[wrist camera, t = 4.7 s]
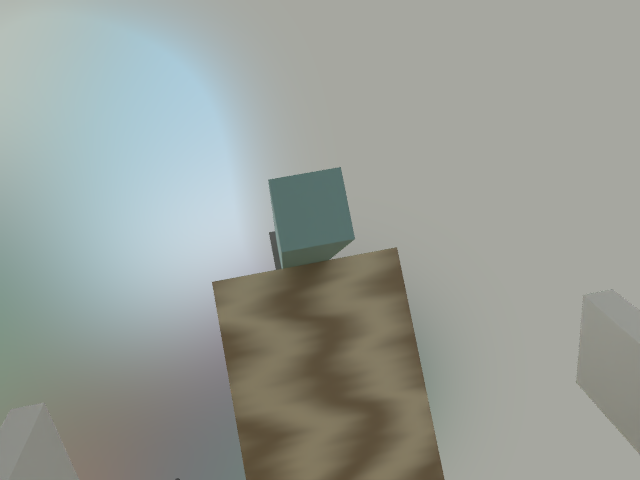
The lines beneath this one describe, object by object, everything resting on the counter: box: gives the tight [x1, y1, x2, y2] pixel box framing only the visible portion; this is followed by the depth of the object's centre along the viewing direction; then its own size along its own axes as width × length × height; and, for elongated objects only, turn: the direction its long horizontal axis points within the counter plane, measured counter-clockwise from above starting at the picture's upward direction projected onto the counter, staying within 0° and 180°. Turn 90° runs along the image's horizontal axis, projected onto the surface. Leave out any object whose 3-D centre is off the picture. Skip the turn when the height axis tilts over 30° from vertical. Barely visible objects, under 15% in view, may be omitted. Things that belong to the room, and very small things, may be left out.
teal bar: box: [268, 167, 355, 270], centre depth 37 cm, size 4×30×4 cm, turn 4°
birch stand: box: [212, 248, 444, 480], centre depth 43 cm, size 12×18×30 cm, turn 4°
